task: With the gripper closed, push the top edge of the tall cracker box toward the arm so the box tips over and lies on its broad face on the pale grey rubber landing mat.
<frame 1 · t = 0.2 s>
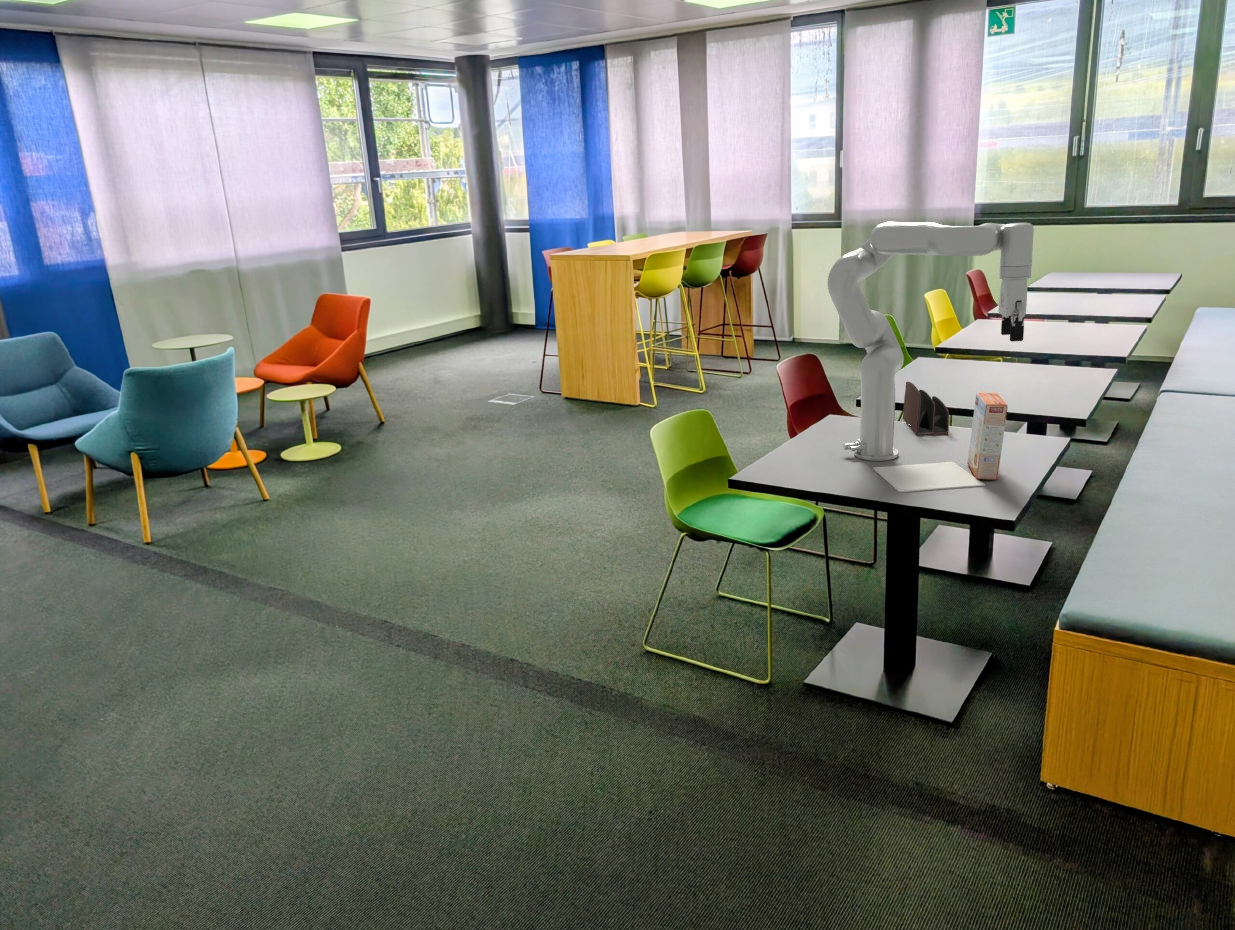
hand: (1011, 337, 241), 36 cm above the table, tool pointing down, fingers open, 9 cm apart
letter holder: (924, 427, 294), on the table
landing mat: (927, 477, 249), on the table
cracker box: (982, 472, 250), on the table, touching landing mat
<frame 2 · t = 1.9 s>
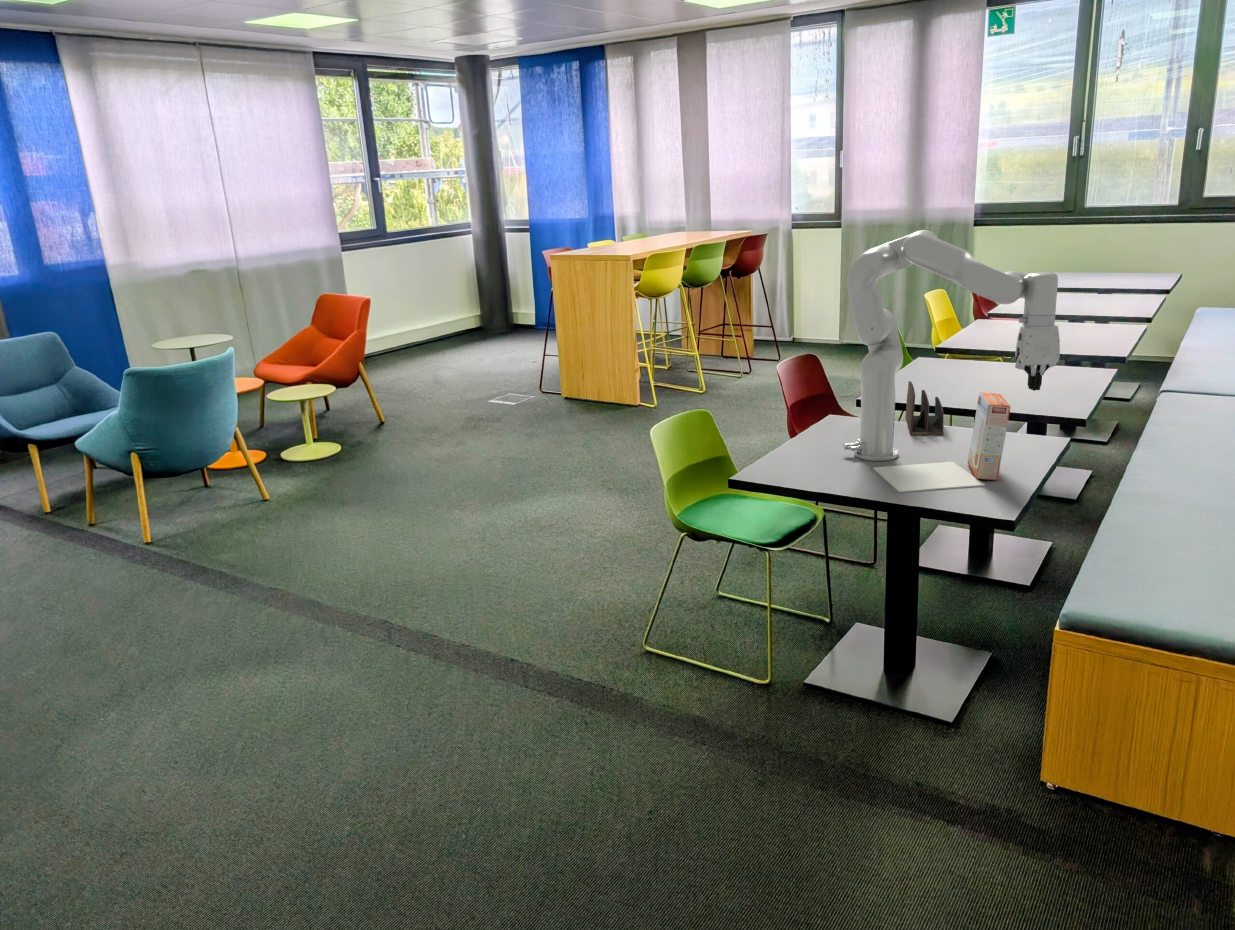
hand: (1034, 389, 243), 23 cm above the table, tool pointing down, fingers closed
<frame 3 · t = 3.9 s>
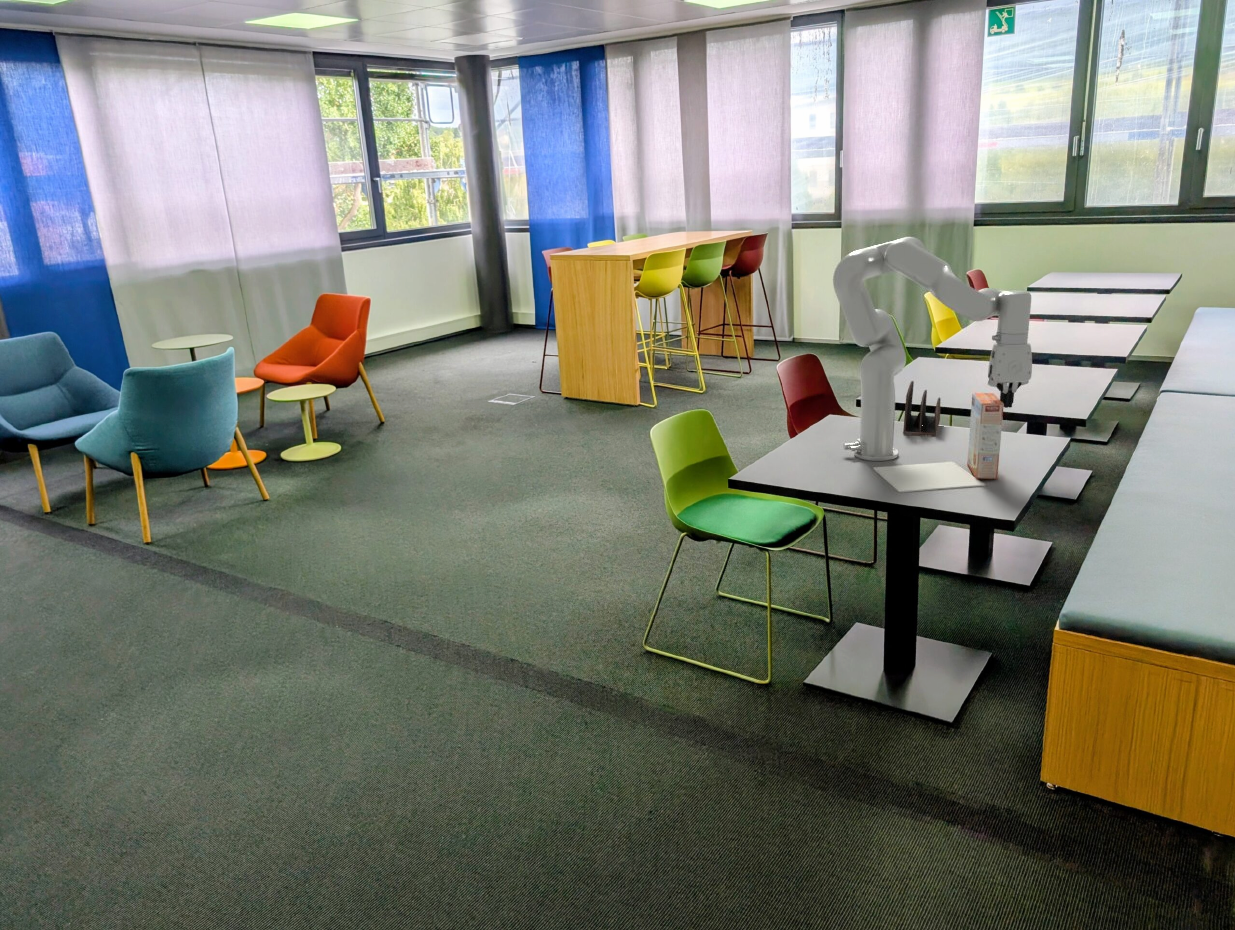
hand: (1006, 406, 244), 18 cm above the table, tool pointing down, fingers closed
cracker box: (982, 472, 250), on the table, touching gripper, landing mat
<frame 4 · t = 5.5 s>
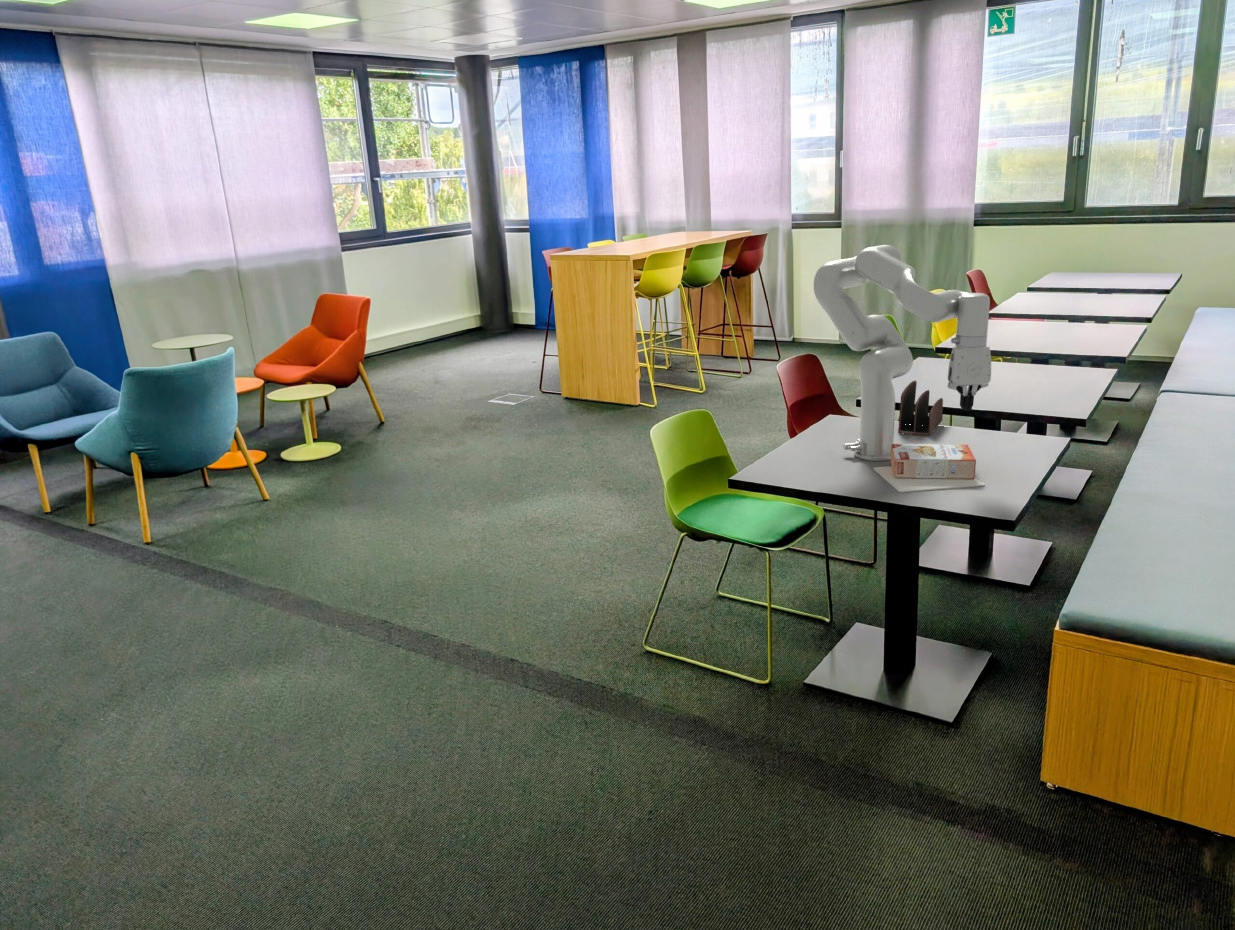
hand: (966, 409, 244), 18 cm above the table, tool pointing down, fingers closed
cracker box: (972, 460, 249), point 3 cm above the table, touching landing mat
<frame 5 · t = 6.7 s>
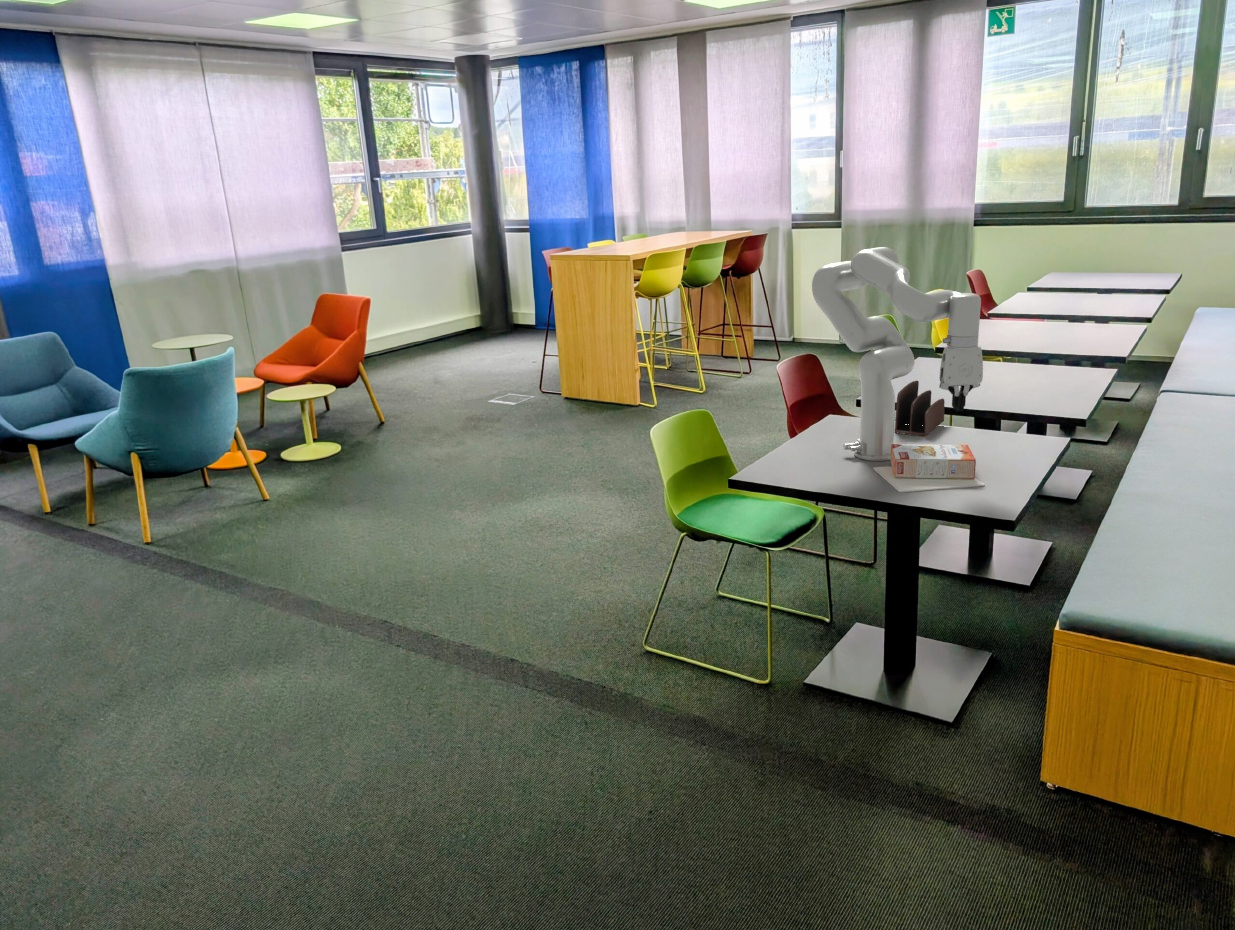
hand: (958, 409, 243), 19 cm above the table, tool pointing down, fingers closed
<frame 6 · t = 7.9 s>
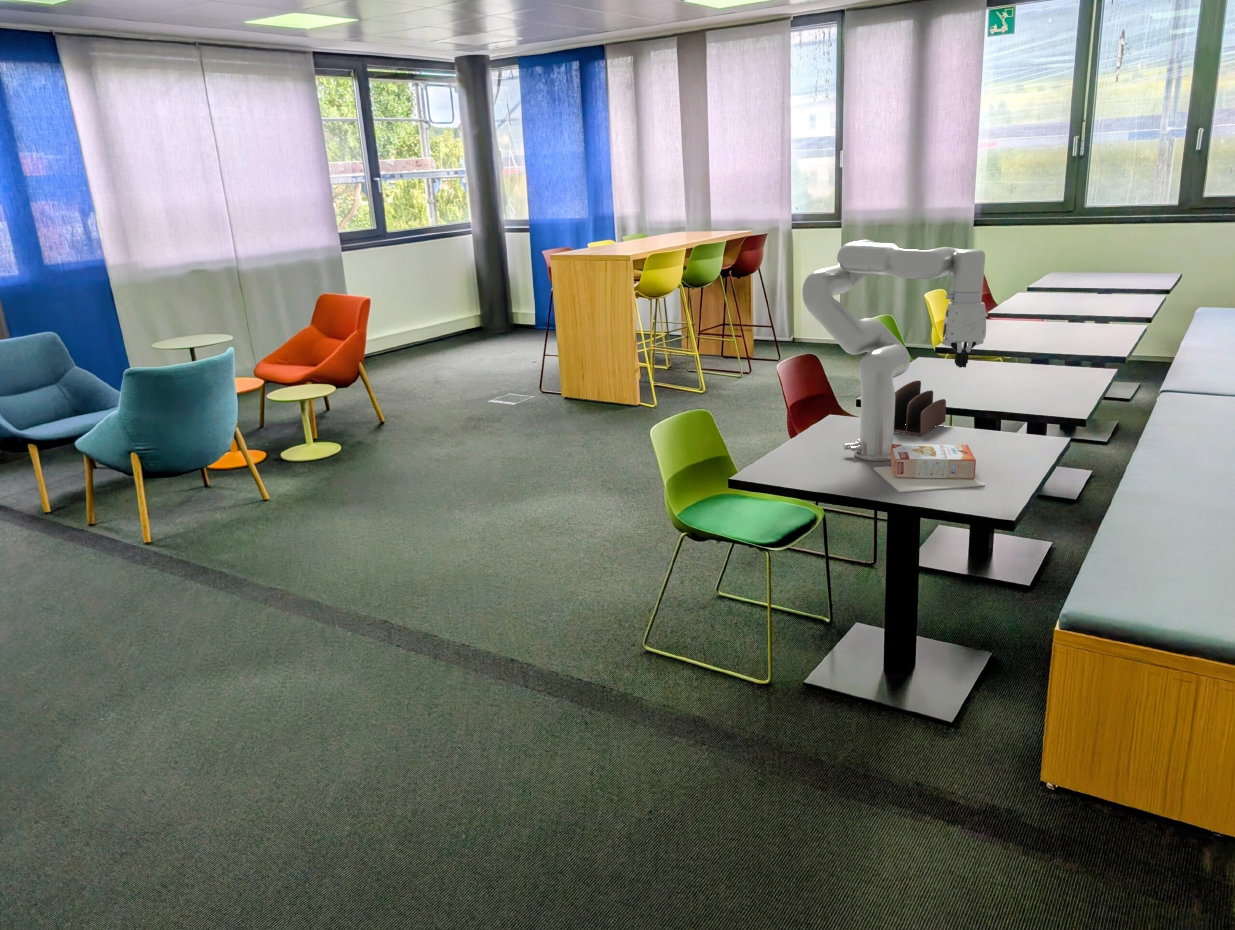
hand: (960, 366, 244), 29 cm above the table, tool pointing down, fingers closed
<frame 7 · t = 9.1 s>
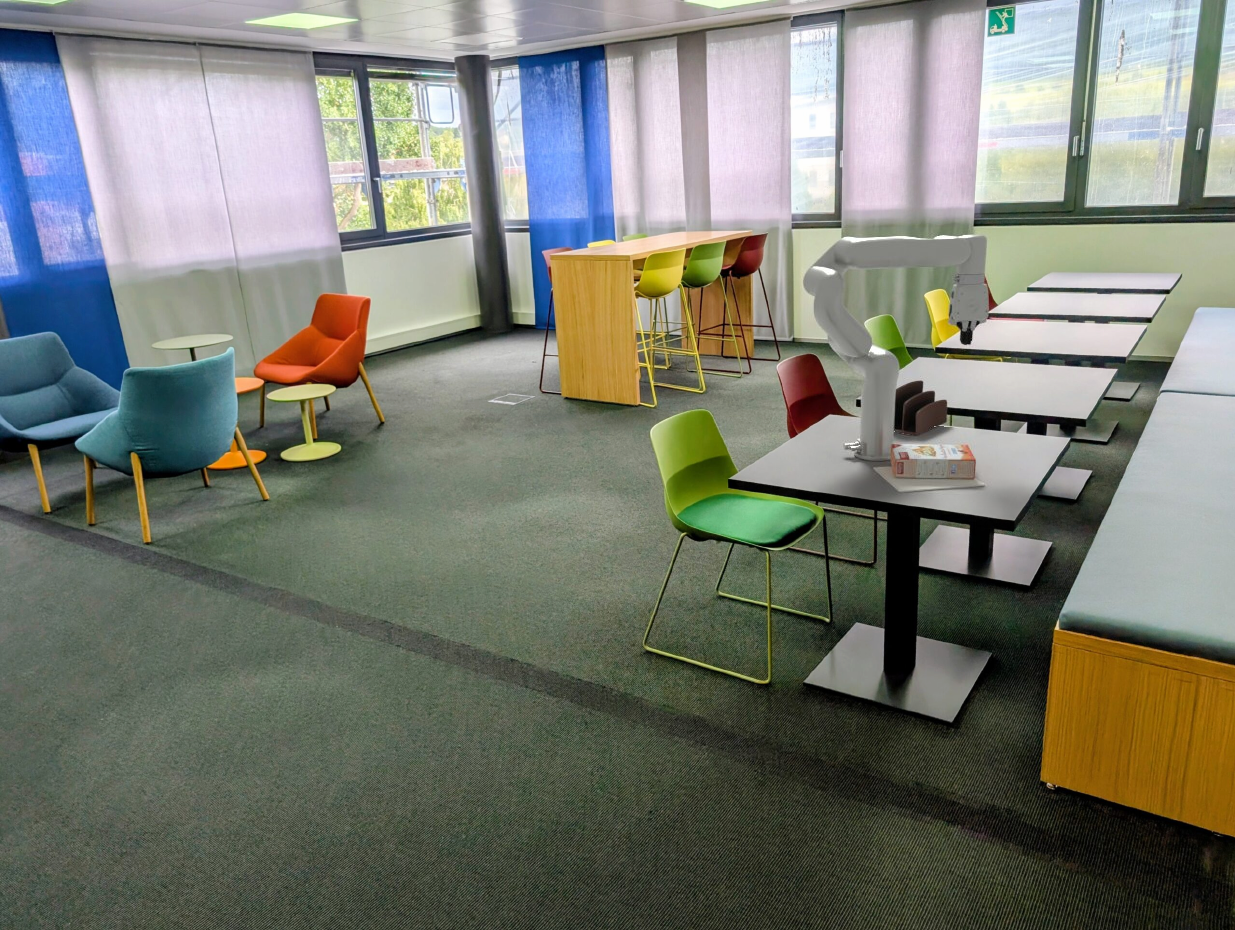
hand: (965, 343, 263), 31 cm above the table, tool pointing down, fingers closed
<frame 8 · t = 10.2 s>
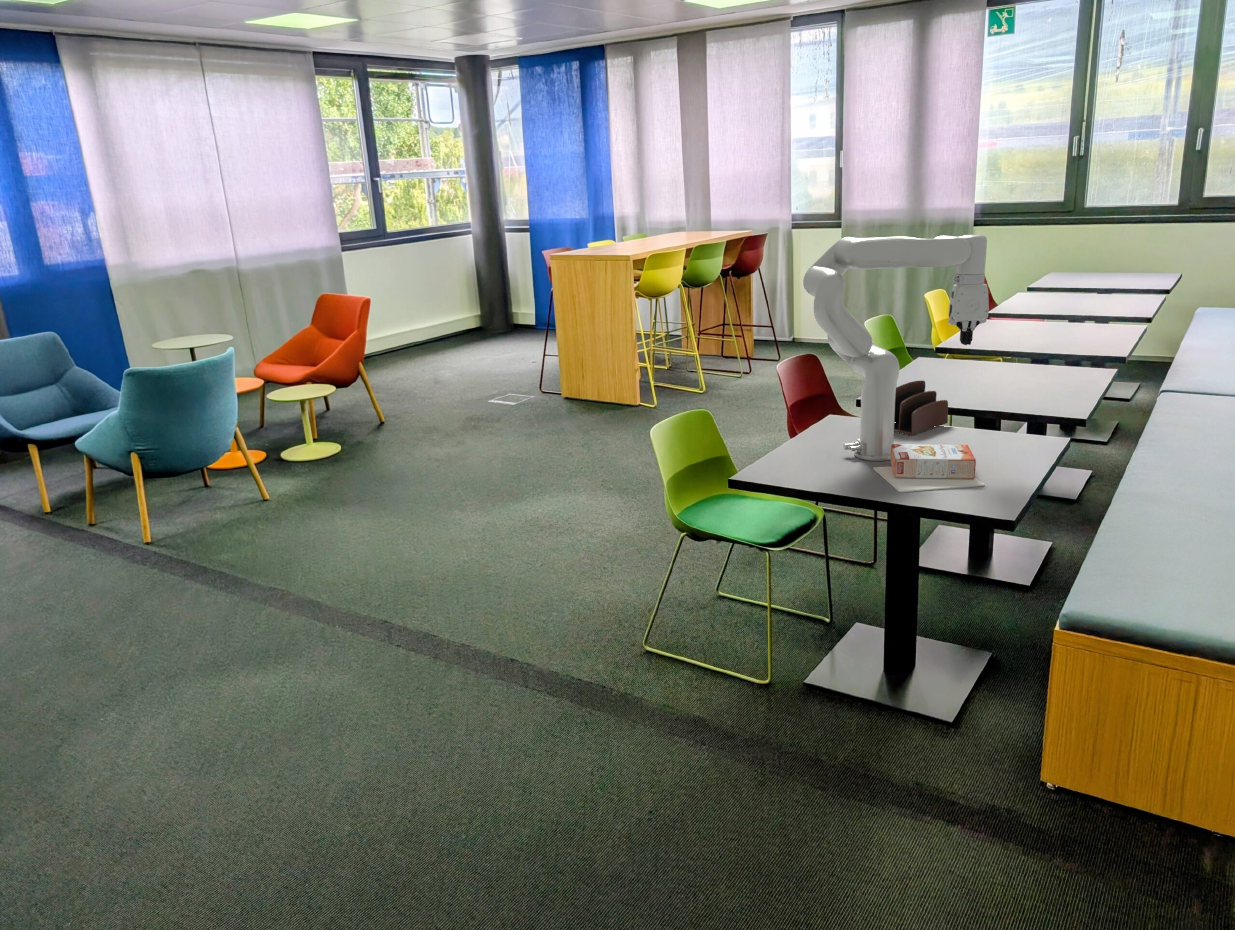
hand: (965, 344, 263), 31 cm above the table, tool pointing down, fingers closed
at the end: cracker box tilted 91°; cracker box touching landing mat; cracker box inside the target area (0.9 cm from its centre), point 3.5 cm above the table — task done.
